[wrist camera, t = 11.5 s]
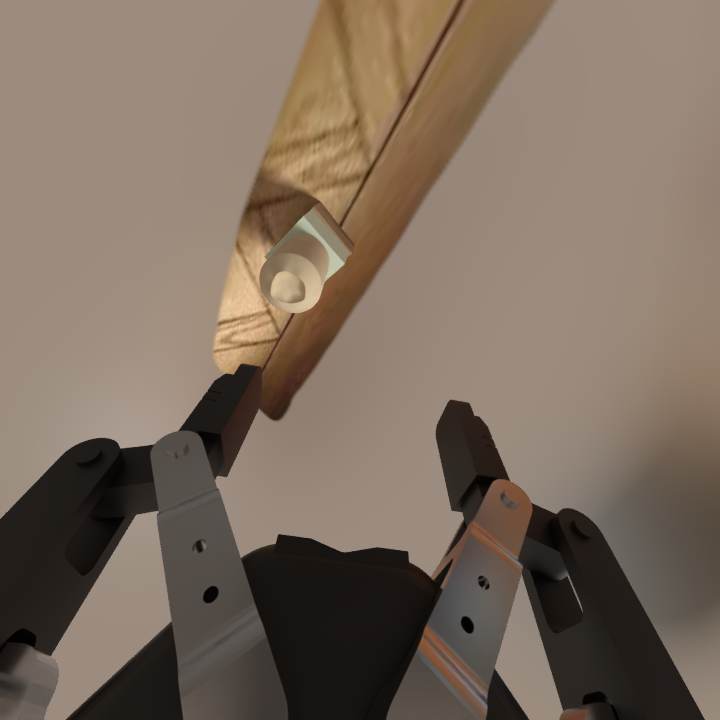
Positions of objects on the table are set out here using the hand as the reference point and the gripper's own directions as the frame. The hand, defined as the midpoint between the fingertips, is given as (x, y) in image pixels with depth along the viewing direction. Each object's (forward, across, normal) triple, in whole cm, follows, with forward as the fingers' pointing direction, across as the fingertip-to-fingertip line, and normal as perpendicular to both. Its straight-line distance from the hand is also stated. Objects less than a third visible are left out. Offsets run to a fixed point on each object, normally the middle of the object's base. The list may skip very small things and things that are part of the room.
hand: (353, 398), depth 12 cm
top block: (+29, +7, +2) cm, 30 cm away
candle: (+24, +7, +2) cm, 25 cm away
